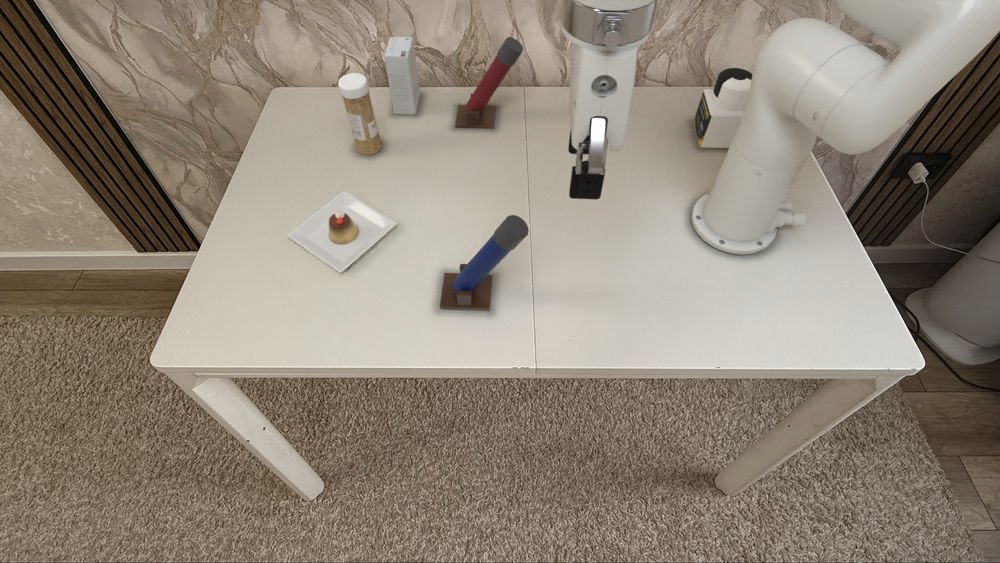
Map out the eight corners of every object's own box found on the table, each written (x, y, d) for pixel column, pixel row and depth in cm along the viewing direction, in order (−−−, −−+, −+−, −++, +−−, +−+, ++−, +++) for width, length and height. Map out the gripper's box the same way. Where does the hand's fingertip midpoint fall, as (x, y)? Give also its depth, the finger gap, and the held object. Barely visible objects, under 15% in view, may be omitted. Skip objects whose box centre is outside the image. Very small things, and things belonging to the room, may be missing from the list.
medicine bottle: (692, 122, 101) (712, 62, 91) (732, 122, 101) (756, 62, 91) (699, 148, 97) (720, 88, 87) (740, 149, 96) (767, 89, 87)
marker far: (481, 108, 103) (523, 43, 92) (479, 119, 101) (523, 55, 90) (465, 100, 101) (506, 33, 90) (463, 111, 99) (505, 45, 89)
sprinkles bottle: (386, 149, 97) (371, 82, 86) (363, 159, 96) (344, 92, 85) (375, 135, 100) (359, 68, 89) (352, 145, 98) (332, 77, 87)
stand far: (495, 107, 104) (495, 93, 101) (493, 128, 100) (493, 114, 98) (458, 106, 104) (457, 92, 102) (455, 127, 101) (453, 113, 98)
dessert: (342, 277, 81) (334, 257, 77) (288, 239, 86) (277, 218, 82) (399, 227, 87) (394, 206, 83) (345, 194, 91) (338, 173, 87)
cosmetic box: (398, 95, 106) (387, 35, 97) (422, 95, 106) (413, 35, 96) (393, 115, 103) (381, 55, 93) (417, 116, 103) (408, 56, 93)
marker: (474, 280, 80) (529, 220, 69) (471, 299, 78) (528, 241, 67) (453, 272, 78) (506, 210, 68) (450, 291, 77) (504, 231, 66)
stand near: (492, 276, 81) (492, 263, 78) (489, 311, 78) (489, 298, 75) (444, 274, 81) (442, 261, 79) (439, 309, 78) (437, 296, 75)
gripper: (666, 74, 40) (624, 236, 55) (644, -40, 50) (613, 123, 65) (562, 71, 40) (547, 233, 55) (561, -41, 50) (549, 121, 65)
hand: (583, 172), depth 60 cm, fingers open, 6 cm apart
